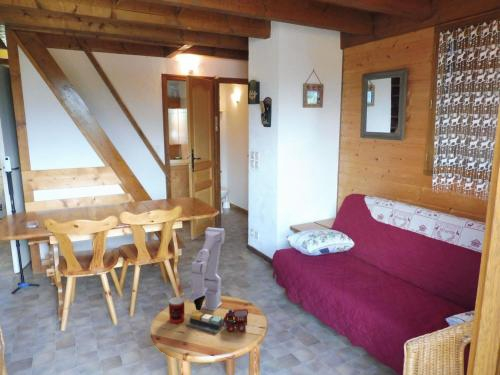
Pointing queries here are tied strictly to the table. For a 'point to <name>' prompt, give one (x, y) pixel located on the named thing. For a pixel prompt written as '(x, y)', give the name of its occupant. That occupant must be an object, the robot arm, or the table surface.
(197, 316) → the amber button
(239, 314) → the toy fire truck
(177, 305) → the canned food
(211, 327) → the button panel
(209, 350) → the table surface
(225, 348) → the table surface
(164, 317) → the table surface
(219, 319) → the teal button
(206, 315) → the cream button
